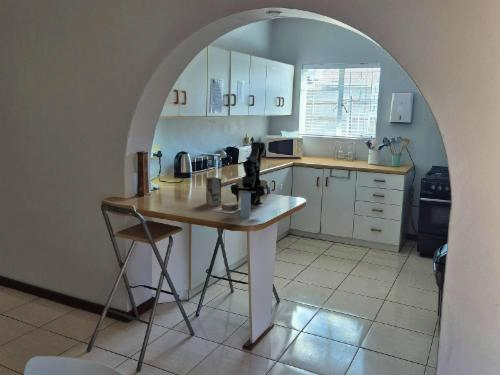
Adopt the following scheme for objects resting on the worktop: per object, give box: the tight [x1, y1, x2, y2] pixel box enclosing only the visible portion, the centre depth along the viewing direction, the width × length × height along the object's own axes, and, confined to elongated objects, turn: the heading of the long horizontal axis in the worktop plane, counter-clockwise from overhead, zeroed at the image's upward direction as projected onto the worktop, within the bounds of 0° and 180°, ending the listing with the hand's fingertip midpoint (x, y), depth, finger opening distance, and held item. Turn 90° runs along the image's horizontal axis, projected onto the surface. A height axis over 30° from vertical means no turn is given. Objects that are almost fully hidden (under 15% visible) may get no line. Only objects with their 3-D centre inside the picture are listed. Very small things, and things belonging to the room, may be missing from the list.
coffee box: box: [205, 176, 222, 207], centre depth 273 cm, size 9×6×16 cm
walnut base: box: [213, 202, 241, 215], centre depth 260 cm, size 16×12×4 cm
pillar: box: [240, 191, 252, 219], centre depth 245 cm, size 4×4×13 cm
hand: (245, 202), depth 244 cm, fingers open, 9 cm apart
